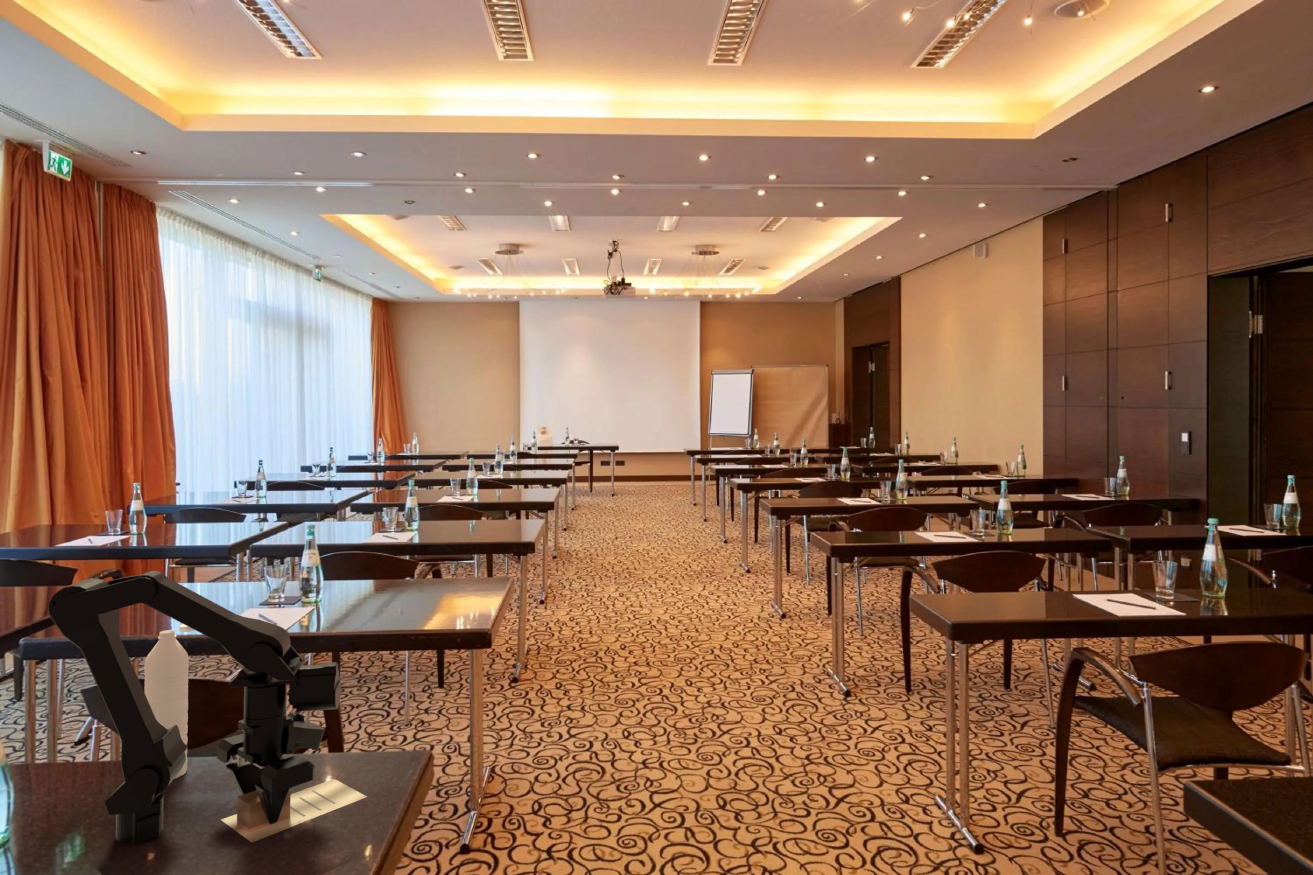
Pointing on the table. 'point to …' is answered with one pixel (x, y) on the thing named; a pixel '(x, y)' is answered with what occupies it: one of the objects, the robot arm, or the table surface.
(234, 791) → the table surface
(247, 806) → the block
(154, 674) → the water bottle
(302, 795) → the birch board
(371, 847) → the table surface
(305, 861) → the table surface
